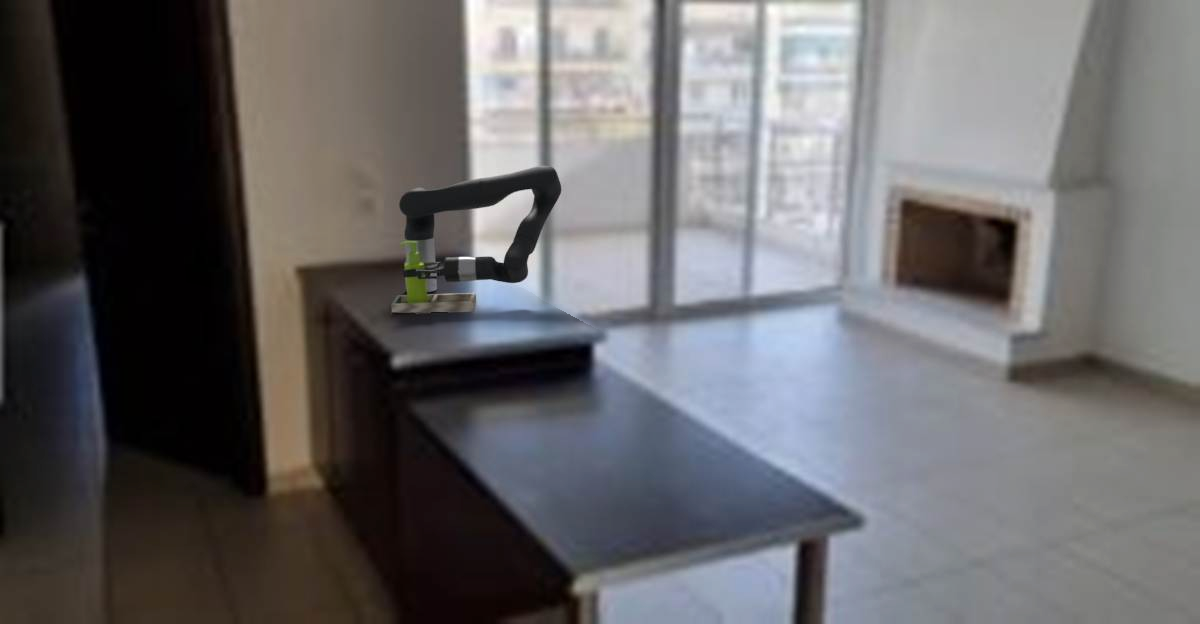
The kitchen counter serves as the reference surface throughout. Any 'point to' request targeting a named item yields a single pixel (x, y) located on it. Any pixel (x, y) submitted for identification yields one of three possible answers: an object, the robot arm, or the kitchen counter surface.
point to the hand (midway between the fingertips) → (405, 271)
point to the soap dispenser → (413, 284)
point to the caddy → (437, 303)
